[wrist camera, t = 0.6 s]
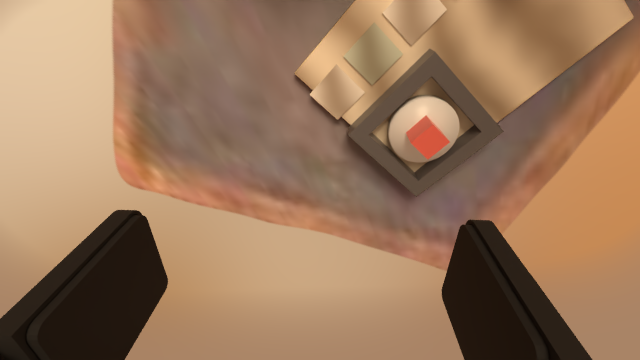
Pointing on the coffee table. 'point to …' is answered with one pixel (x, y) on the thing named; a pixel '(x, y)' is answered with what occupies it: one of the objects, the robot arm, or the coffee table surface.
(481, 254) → the robot arm
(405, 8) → the board
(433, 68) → the frame
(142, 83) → the coffee table surface
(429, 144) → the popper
